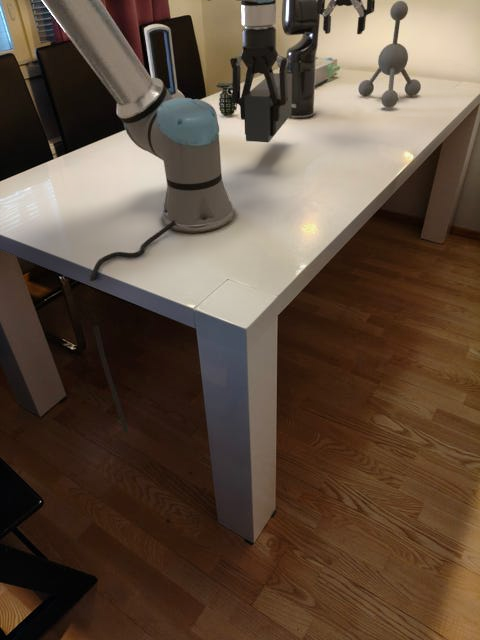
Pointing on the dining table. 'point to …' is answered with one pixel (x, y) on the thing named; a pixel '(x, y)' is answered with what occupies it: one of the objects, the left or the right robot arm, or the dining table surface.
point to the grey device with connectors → (325, 69)
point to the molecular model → (392, 63)
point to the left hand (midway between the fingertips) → (260, 133)
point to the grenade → (226, 99)
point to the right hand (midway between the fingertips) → (343, 33)
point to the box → (264, 110)
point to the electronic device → (169, 52)
